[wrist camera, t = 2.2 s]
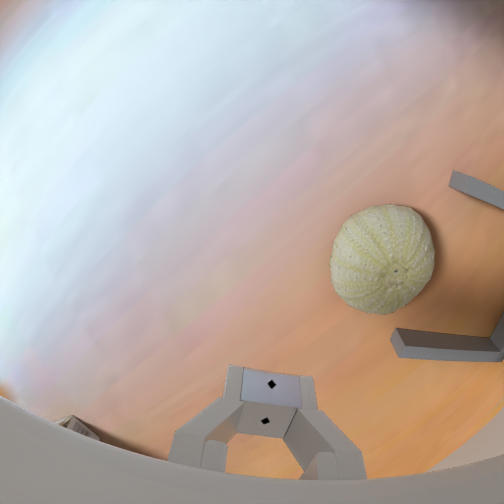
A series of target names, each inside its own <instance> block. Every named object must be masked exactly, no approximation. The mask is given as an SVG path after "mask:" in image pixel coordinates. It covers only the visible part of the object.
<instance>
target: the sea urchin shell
mask: <svg viewBox="0 0 504 504" xmlns="http://www.w3.org/2000/svg"><path fill="white" fill-rule="evenodd" d="M332 247H333V251H332V256H331V257H330V263H329V264H330V270H331V282H332V285H333V287H334V289H335V291H336V294H338V295H339V296H340V297H341V298H342V299H343V300H344V301H345V302H346V303H347V305H349V306H351V307H353V308H356V309H359V310H361V311H363V312H366V313H374V314H381V315H386V314H388V313H393V312H395V311H396V310H397V309H399V308H402V307H403V306H404V305H407V303H408V302H410V301H411V300H412V299H413V298H414V297H415V296H417V295H418V294H419V293H421V290H422V289H423V288H424V286H425V285H426V284H427V282H428V281H429V280H430V279H431V275H432V273H433V270H434V254H435V250H434V247H433V243H432V239H431V233H430V230H429V229H428V227H427V225H426V224H425V222H424V220H423V219H422V217H421V215H419V214H418V213H417V212H416V211H414V210H412V209H411V208H410V207H408V206H399V205H393V204H389V205H388V204H386V205H381V206H372V207H367V208H366V209H363V210H362V211H360V212H358V213H356V214H354V215H350V217H349V218H348V219H347V220H346V221H345V222H344V223H343V224H342V227H341V229H340V231H339V233H338V235H337V237H336V239H335V241H334V245H333V246H332Z"/></svg>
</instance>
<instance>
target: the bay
mask: <svg viewBox="0 0 504 504" xmlns="http://www.w3.org/2000/svg"><path fill="white" fill-rule="evenodd" d="M449 186H450V187H452V188H455V189H457V190H459V191H461V192H464V193H466V194H468V195H471V196H473V197H476V198H478V199H481V200H483V201H485V202H488V203H490V204H492V205H495V206H497V207H499V208H502V209H504V191H502V190H500V189H497V188H495V187H493V186H491V185H489V184H487V183H485V182H482V181H480V180H478V179H476V178H473V177H471V176H468V175H466V174H463V173H460V172H457V171H454V170H453V173H452V177H451V180H450V184H449ZM390 340H391V342H392V345H393V347H394V349H395V351H396V353H397V355H398V357H399V358H410V359H425V360H443V361H470V362H502V361H503V359H504V312H503V314H502V316H501V318H500V320H499V322H498V324H497V325H496V327H495V329H494V331H493V333H492V335H491V336H490V338H486V337H474V336H463V335H453V334H443V333H434V332H425V331H416V330H408V329H400V328H395V330H394V333H393V335H392V337H391V339H390Z"/></svg>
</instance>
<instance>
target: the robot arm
mask: <svg viewBox="0 0 504 504" xmlns="http://www.w3.org/2000/svg"><path fill="white" fill-rule="evenodd" d="M236 433H242V434H250V435H260V436H267V437H274V438H282V439H283V440H284V442H285V443H286V445H287V446H288V448H289V449H290V451H291V452H292V454H293V456H294V457H295V459H296V460H297V462H298V463H299V465H300V466H301V467H302V469H303V470H304V473H303V474H302V476H301V477H300V478H299V480H293V479H277V478H265V477H255V476H246V475H238V474H231V473H225V466H226V457H227V448H228V446H227V445H226V444H227V443H228V442H229V441H230V440H231V439H232V438H233V436H234V435H235V434H236ZM0 504H504V454H503V455H500V456H497V457H493V458H490V459H486V460H483V461H479V462H475V463H471V464H467V465H462V466H458V467H453V468H448V469H443V470H438V471H432V472H426V473H419V474H412V475H405V476H396V477H386V478H375V479H367V475H366V470H365V465H364V460H363V455H362V451H361V450H360V449H359V448H358V447H357V446H356V445H355V444H354V443H353V442H352V441H351V440H350V439H349V438H348V437H347V436H346V435H345V434H344V433H343V432H342V431H341V430H340V429H339V428H338V427H337V426H336V425H335V424H334V423H333V422H332V421H331V419H330V418H329V417H328V416H327V415H326V414H325V413H324V412H323V411H322V410H318V407H317V400H316V393H315V387H314V380H313V377H312V376H303V375H293V374H285V373H277V372H269V371H264V370H258V369H253V368H247V367H241V366H236V365H231V364H229V366H228V370H227V375H226V380H225V385H224V390H223V395H222V397H219V398H217V399H216V400H215V401H214V402H212V403H211V404H210V405H209V406H207V407H206V408H205V409H204V410H202V411H201V412H200V413H199V414H197V415H196V416H195V417H193V418H192V419H191V420H190V421H188V422H187V423H186V424H184V425H183V426H182V427H180V428H179V429H178V430H176V431H175V434H174V438H173V441H172V445H171V449H170V452H169V456H168V460H167V461H164V460H160V459H156V458H152V457H149V456H145V455H142V454H138V453H135V452H131V451H128V450H125V449H122V448H118V447H115V446H112V445H109V444H106V443H104V442H101V441H98V440H95V439H93V438H90V437H87V436H85V435H82V434H79V433H77V432H74V431H72V430H70V429H67V428H65V427H62V426H60V425H58V424H56V423H53V422H51V421H49V420H47V419H45V418H42V417H40V416H38V415H36V414H34V413H32V412H30V411H28V410H26V409H24V408H22V407H20V406H18V405H16V404H15V403H13V402H11V401H9V400H7V399H5V398H4V397H2V396H0Z"/></svg>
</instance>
